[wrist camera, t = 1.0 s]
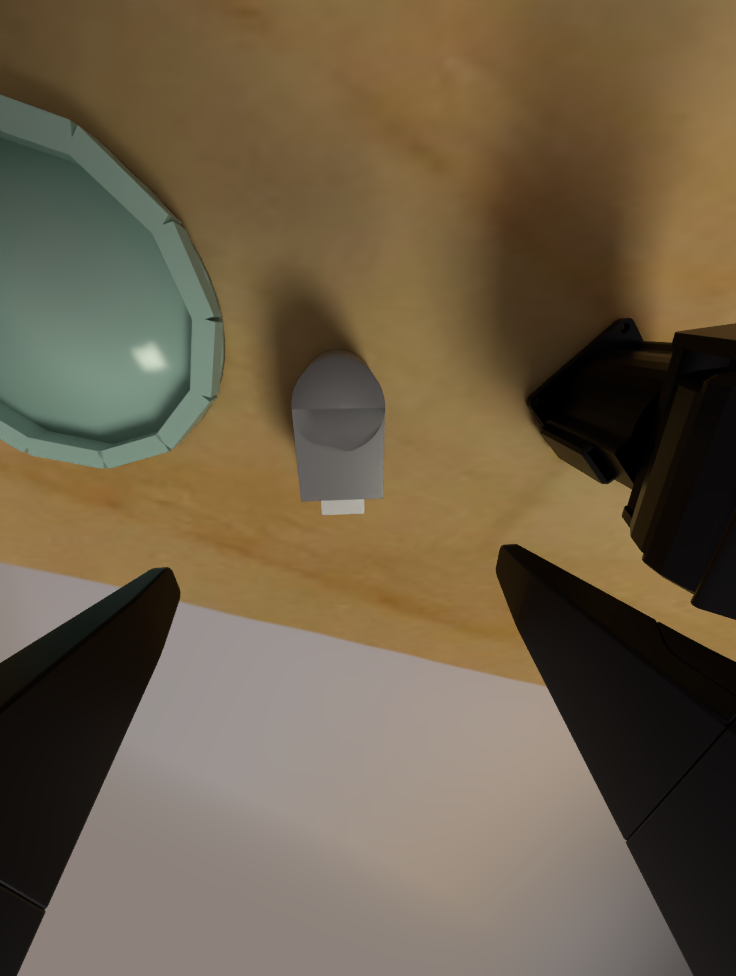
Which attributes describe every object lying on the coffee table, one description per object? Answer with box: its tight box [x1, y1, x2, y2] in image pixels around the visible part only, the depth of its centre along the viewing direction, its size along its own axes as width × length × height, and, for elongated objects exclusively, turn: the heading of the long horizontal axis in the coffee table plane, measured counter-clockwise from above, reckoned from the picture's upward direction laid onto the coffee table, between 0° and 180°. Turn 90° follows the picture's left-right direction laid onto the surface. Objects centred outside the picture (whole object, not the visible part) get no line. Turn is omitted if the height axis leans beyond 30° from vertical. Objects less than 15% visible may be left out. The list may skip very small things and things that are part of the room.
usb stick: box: [291, 350, 385, 515], centre depth 17 cm, size 8×4×5 cm, turn 0°
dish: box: [0, 95, 225, 469], centre depth 15 cm, size 14×14×2 cm
